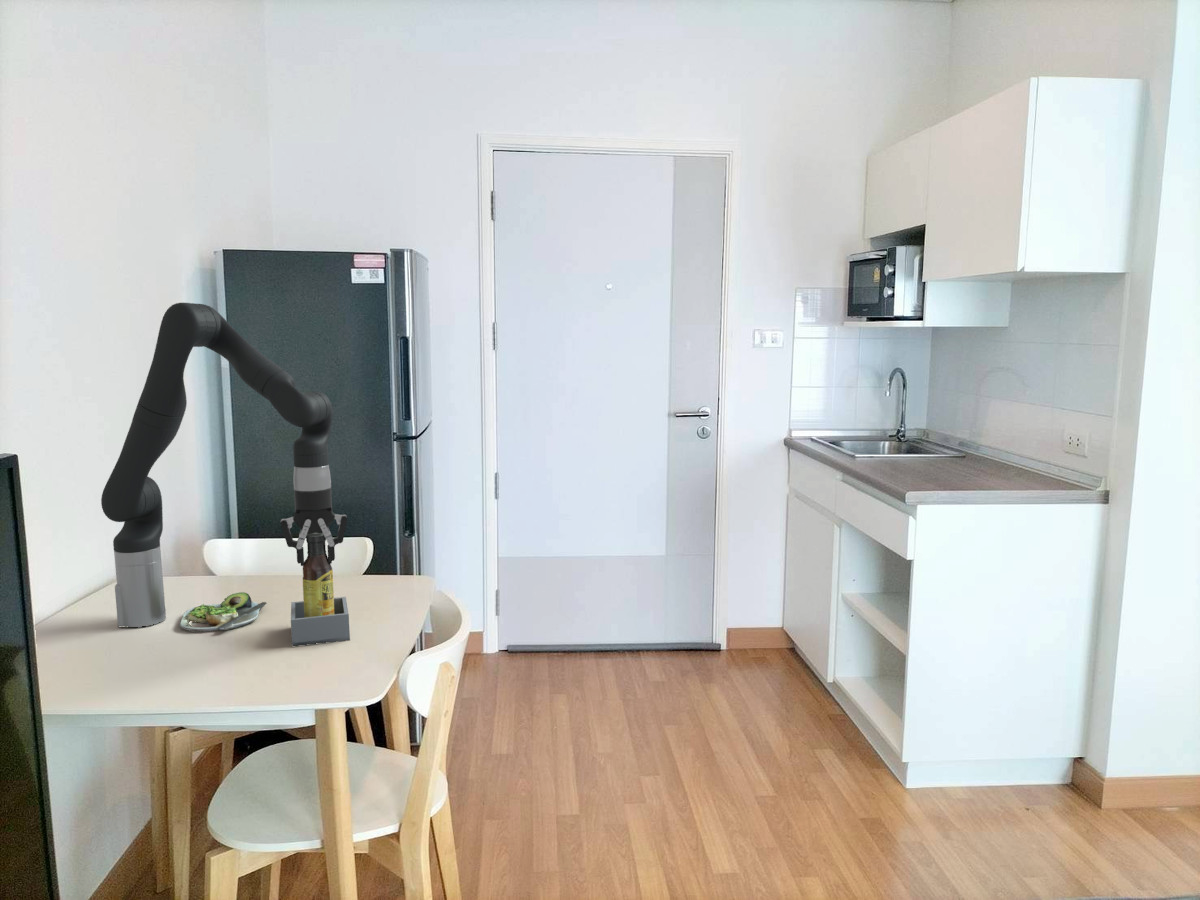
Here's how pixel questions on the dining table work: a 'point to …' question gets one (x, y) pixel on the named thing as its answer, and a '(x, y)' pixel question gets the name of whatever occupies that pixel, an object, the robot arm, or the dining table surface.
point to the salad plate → (223, 614)
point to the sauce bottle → (317, 578)
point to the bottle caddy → (320, 624)
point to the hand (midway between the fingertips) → (316, 563)
